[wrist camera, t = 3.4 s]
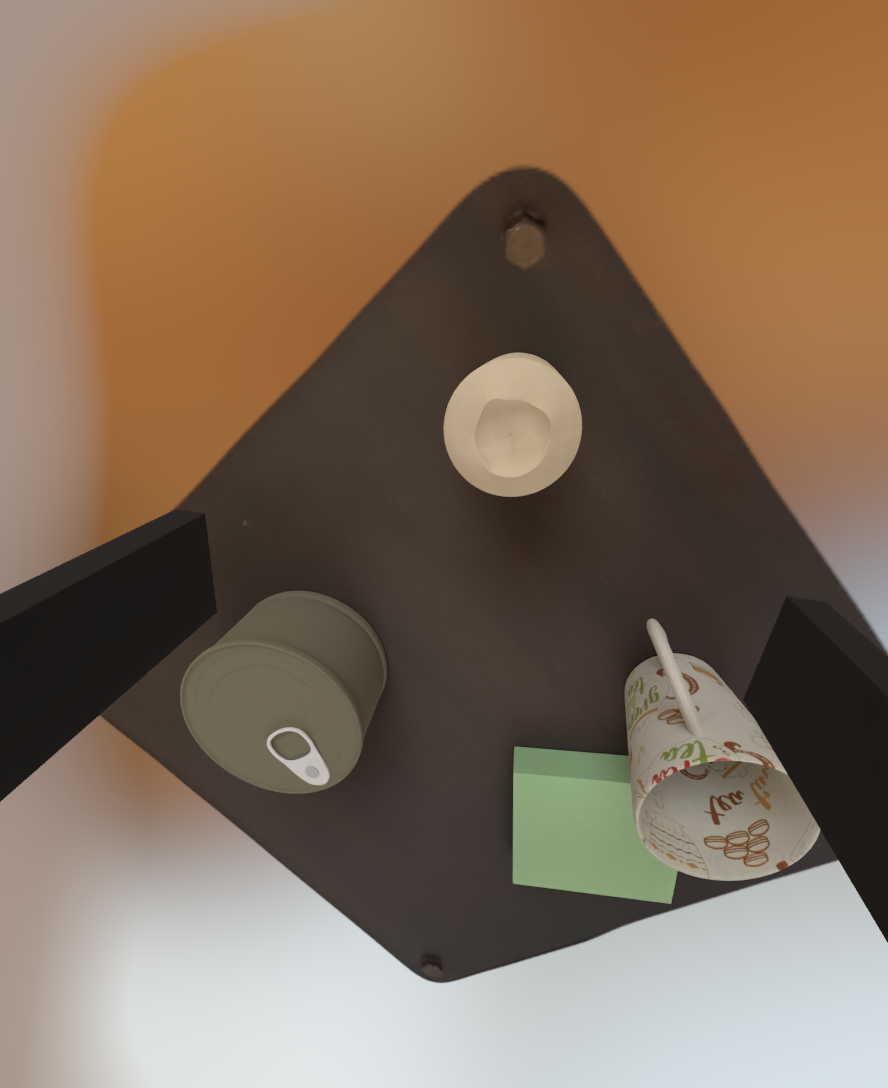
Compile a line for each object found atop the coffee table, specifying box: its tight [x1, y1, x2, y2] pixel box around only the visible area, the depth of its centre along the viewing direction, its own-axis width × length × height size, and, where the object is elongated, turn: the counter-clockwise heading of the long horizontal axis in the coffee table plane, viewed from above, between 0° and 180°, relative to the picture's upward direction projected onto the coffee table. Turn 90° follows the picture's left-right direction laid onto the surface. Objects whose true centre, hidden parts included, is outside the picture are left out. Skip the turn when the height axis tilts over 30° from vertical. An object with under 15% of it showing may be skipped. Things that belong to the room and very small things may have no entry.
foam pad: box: [513, 746, 678, 904], centre depth 37 cm, size 12×12×2 cm
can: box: [180, 591, 388, 794], centre depth 33 cm, size 12×12×7 cm
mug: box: [624, 619, 820, 881], centre depth 28 cm, size 8×13×10 cm, turn 27°
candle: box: [444, 353, 582, 497], centre depth 23 cm, size 6×6×10 cm
